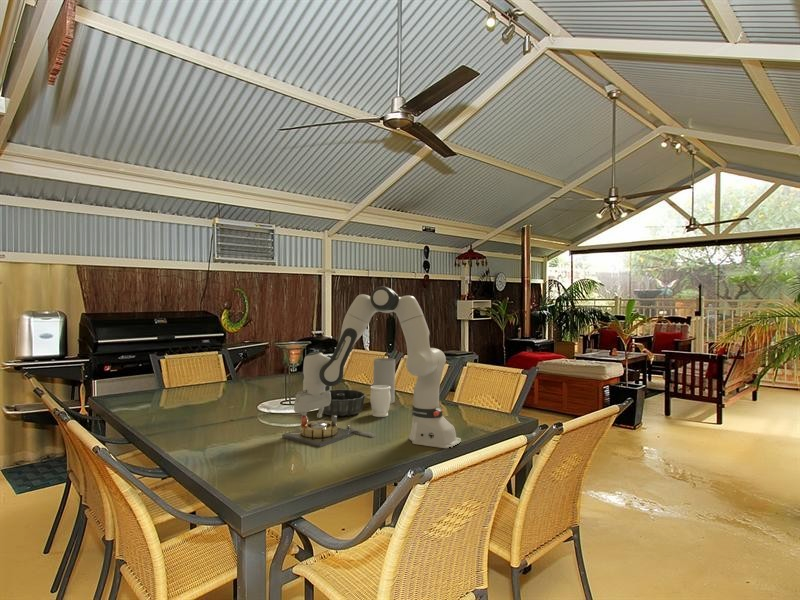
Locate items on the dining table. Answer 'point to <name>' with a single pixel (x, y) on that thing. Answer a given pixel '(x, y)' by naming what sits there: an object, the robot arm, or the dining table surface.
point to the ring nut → (318, 432)
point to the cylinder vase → (385, 374)
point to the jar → (380, 400)
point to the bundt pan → (345, 402)
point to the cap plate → (318, 440)
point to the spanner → (360, 432)
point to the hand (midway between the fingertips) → (312, 419)
